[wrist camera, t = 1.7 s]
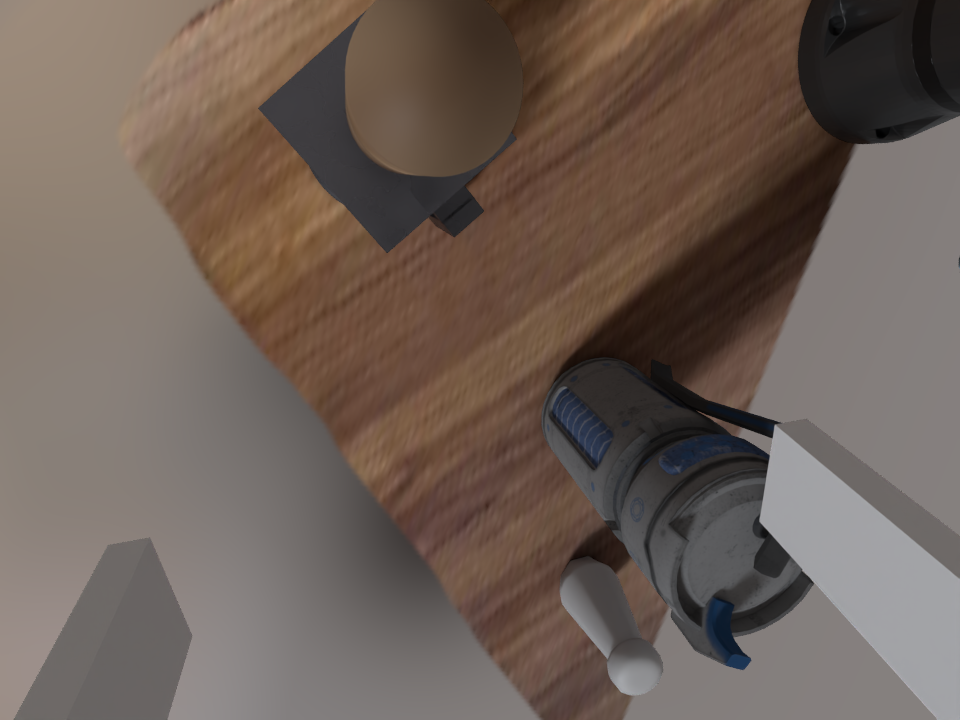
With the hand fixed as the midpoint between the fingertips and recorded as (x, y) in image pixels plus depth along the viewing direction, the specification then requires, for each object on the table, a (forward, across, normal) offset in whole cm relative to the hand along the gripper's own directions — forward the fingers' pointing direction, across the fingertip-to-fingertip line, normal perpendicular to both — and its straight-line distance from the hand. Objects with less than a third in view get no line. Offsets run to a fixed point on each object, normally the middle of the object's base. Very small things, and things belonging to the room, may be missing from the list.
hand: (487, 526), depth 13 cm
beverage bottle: (+34, -15, +18) cm, 42 cm away
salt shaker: (+32, -12, +37) cm, 50 cm away
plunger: (+24, 0, -6) cm, 25 cm away
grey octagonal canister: (+36, 0, -5) cm, 37 cm away
